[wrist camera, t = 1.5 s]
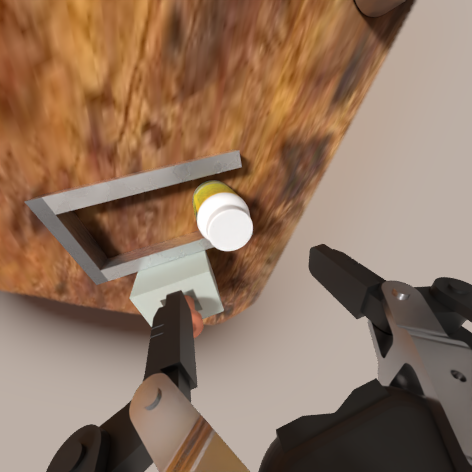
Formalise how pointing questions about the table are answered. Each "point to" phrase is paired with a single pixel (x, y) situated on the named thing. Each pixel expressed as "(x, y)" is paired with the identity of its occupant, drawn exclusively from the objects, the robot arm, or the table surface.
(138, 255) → the rail
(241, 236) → the pill bottle
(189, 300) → the plunger
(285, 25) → the table surface
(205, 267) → the plunger housing block
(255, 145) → the table surface
